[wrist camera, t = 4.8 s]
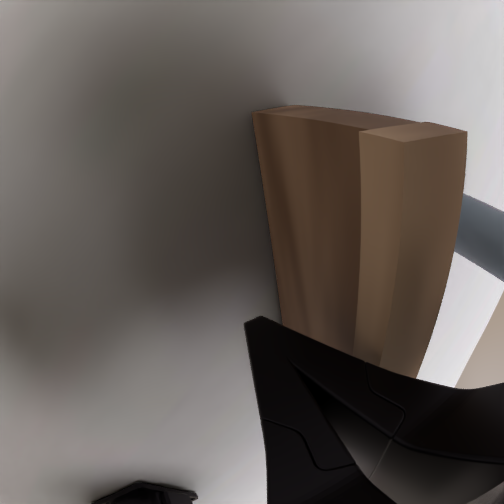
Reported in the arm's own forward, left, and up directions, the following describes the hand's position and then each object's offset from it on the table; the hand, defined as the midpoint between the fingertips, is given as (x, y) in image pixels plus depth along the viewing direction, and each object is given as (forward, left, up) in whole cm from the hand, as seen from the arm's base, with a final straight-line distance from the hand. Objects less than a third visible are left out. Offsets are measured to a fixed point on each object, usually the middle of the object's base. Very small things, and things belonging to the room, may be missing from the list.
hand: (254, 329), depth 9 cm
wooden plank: (+1, -4, -3) cm, 5 cm away
